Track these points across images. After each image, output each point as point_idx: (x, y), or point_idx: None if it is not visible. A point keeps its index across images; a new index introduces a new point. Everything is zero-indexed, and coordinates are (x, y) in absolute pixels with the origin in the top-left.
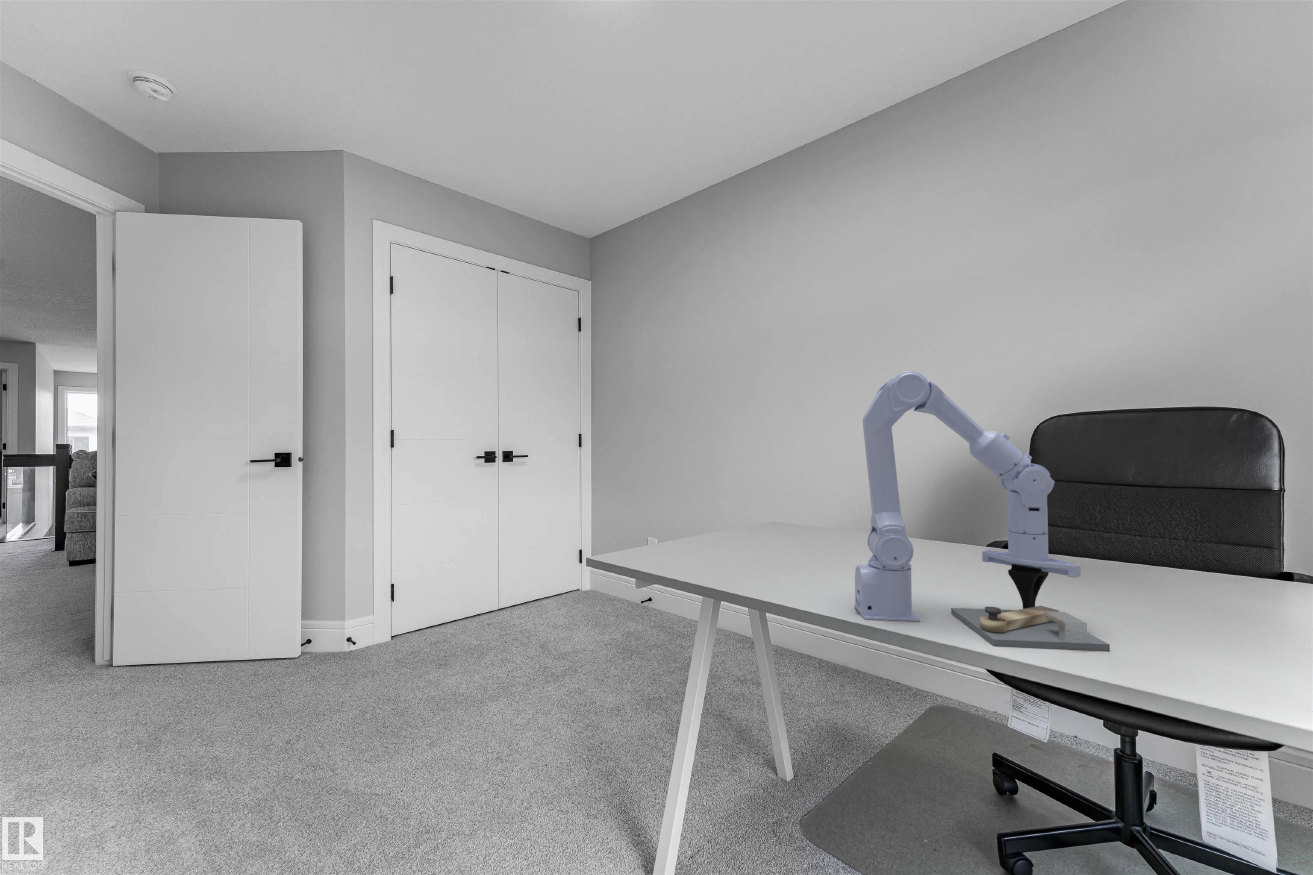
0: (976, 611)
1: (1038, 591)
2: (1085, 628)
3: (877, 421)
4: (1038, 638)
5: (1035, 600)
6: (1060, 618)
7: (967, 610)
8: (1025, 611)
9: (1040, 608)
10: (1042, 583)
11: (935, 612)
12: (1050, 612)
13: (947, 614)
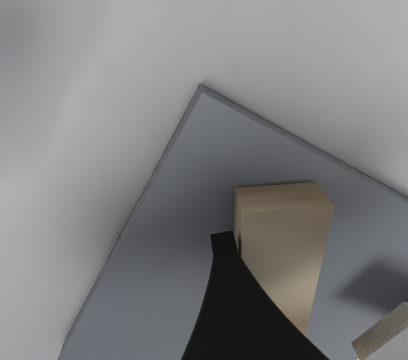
0: (112, 330)
1: (268, 297)
2: None
3: None
4: (348, 349)
5: (242, 259)
6: None
7: (95, 343)
8: None
9: (271, 250)
10: (310, 344)
11: (37, 357)
12: (382, 356)
13: (62, 345)
